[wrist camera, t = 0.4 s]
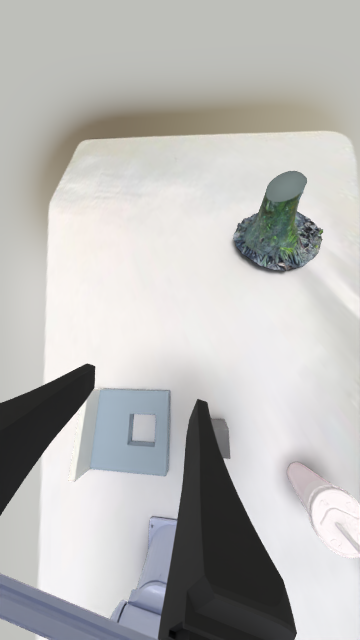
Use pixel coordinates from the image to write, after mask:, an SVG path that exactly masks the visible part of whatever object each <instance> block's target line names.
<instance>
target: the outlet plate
mask: <svg viewBox="0 0 360 640" xmlns="http://www.w3.org/2000/svg"><path fill="white" fill-rule="evenodd" d="M169 412H170V390H132V389H96V390H93V391H92V392H91V394H90V395H89V397H88V398H87V400H86V401H85V402H84V404H83V405H82V406H81V407H80V409H79V416H78V422H77V428H76V434H75V440H74V447H73V453H72V459H71V465H70V471H69V478H68V481H71V482H75V481H76V480H77V479H78V478H80V477H81V476H82V475H83V474H84V473H85V472H87V471H88V470H89V469H97V470H107V471H117V472H127V473H137V474H147V475H158V476H166V474H167V472H168V454H169ZM134 414H148V415H156V425H155V443H153V442H139V441H132V429H133V416H134Z"/></svg>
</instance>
